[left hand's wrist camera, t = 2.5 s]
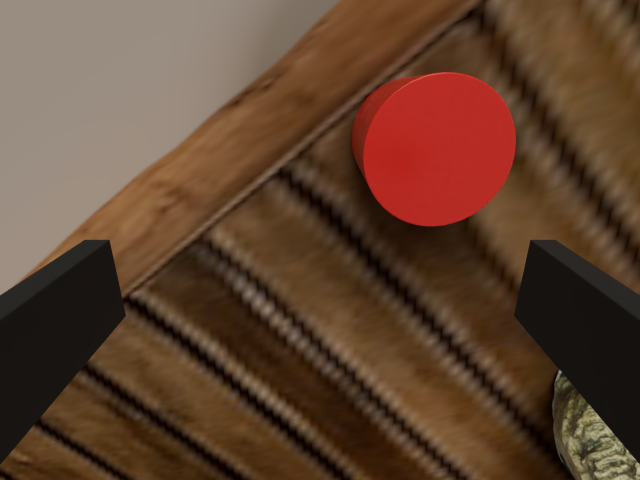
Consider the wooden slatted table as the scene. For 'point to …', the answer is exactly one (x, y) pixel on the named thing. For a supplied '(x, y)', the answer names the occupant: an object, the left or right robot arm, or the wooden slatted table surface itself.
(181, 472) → the wooden slatted table surface
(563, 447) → the fossil
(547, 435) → the wooden slatted table surface
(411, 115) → the canister
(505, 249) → the wooden slatted table surface
